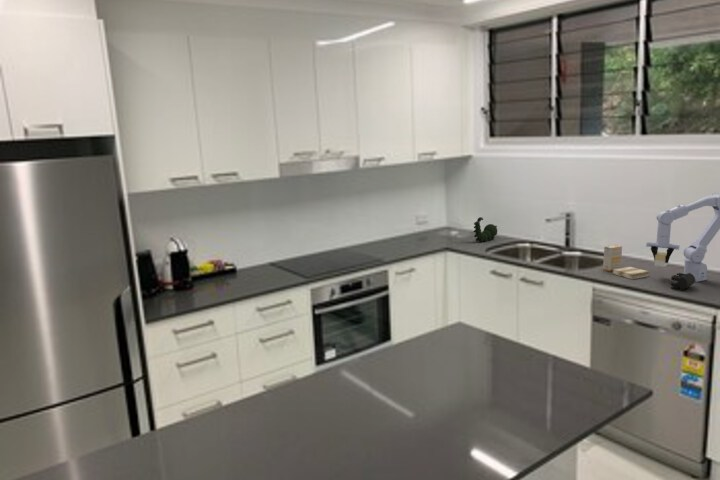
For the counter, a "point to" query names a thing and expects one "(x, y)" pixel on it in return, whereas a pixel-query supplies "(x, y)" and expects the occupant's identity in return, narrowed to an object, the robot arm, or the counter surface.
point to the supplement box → (612, 257)
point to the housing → (660, 259)
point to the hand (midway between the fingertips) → (661, 261)
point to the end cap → (682, 281)
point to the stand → (631, 272)
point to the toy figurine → (487, 233)
